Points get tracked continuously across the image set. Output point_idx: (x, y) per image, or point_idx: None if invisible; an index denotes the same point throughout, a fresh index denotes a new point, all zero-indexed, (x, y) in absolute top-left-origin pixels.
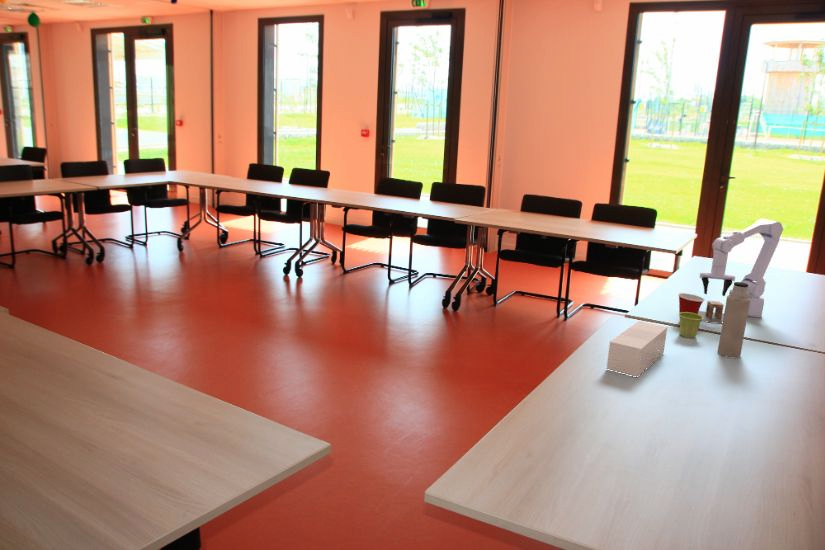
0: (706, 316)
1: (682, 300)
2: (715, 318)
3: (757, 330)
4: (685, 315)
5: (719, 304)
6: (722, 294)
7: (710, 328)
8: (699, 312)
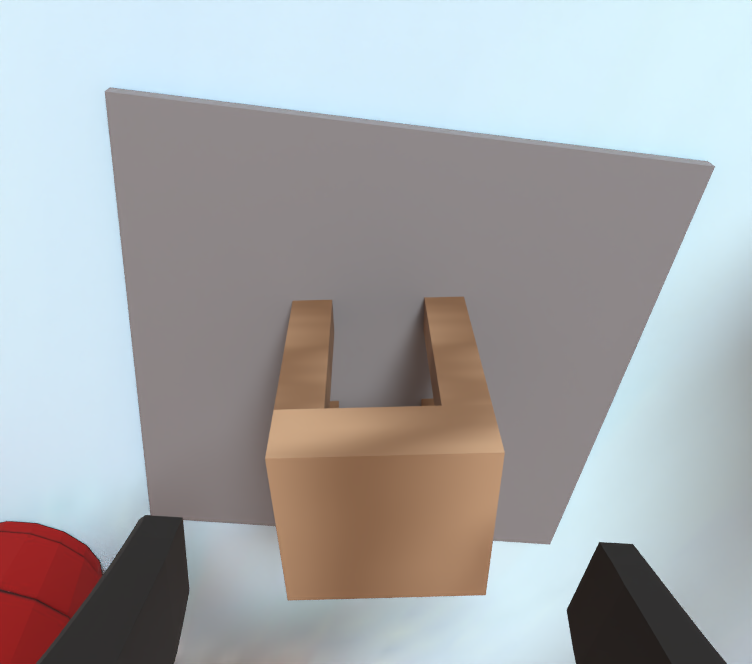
0: None
1: None
2: None
3: None
4: None
5: (417, 595)
6: (595, 578)
7: (241, 643)
8: (224, 200)
